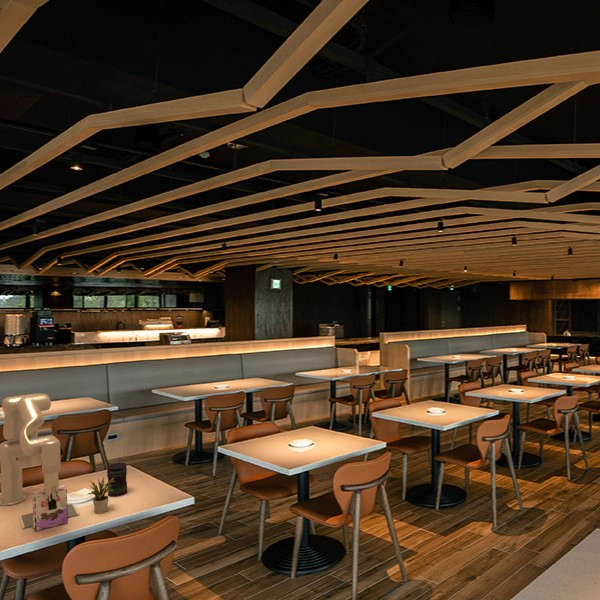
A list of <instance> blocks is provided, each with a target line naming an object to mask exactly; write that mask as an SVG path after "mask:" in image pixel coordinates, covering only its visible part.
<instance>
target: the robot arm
mask: <svg viewBox="0 0 600 600" xmlns="http://www.w3.org/2000/svg"><path fill="white" fill-rule="evenodd" d="M50 398H51V397H50V396H49V395H48V394H46V393H30V394H29V393H28V394H24V395H23V394H20V395H16V396H15V395H14V396H8V397H5V398H4V399H3V400H2V401H1V408H2V411H3V414H4V419H3V431H2V432H3V433H2V434H3V435H2V436H3V437H4V439H5V441H3V442H1V443H0V486H1V488H0V490H1V498H0V506H3V507H4V506H5V507H7V506H13V505H18V504H21V503H23V502H24V501H26V500H27V496H26V495H25V494H23V490H24V489H23V467H22V463H21V462H20V461H19V460H17V458H21V457H29V458H30V457H36V456H40V455H41V473H42V474H43V490H44V492H45V495H46V496H47V497H48V509H49V510H53V509H56V508H57V500H56V494H58V493H59V486H60V484H59V482H60V481H59V472H60V471H61V470H62V466H61V462H62V461H61V442H60V439H58V438H57V437H56V436H54V435H45V436H41V437H38V436H39V435H38V434H39V428H40V427H41V426H43V424H44V423H45V417H44V415H43V412H45V411H49V410H50V409H51V406H52V401H51V399H50Z"/></svg>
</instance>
